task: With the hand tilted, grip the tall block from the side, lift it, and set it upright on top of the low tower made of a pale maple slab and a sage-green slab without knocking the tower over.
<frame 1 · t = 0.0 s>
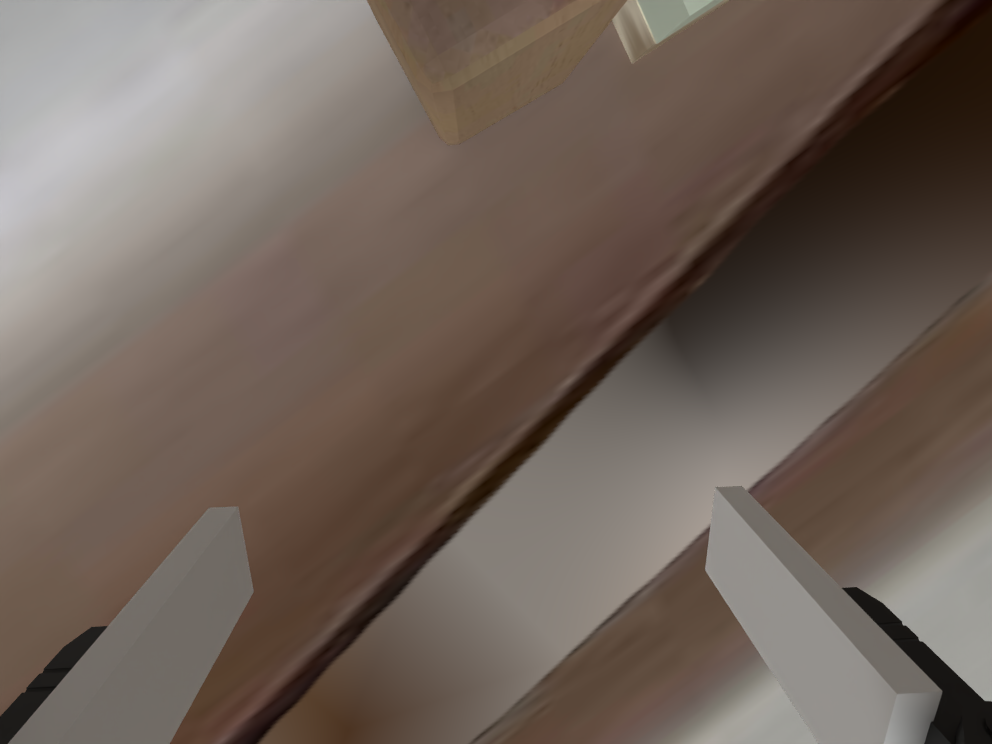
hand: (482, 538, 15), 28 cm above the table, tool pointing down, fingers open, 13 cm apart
block: (474, 45, 36), on the table
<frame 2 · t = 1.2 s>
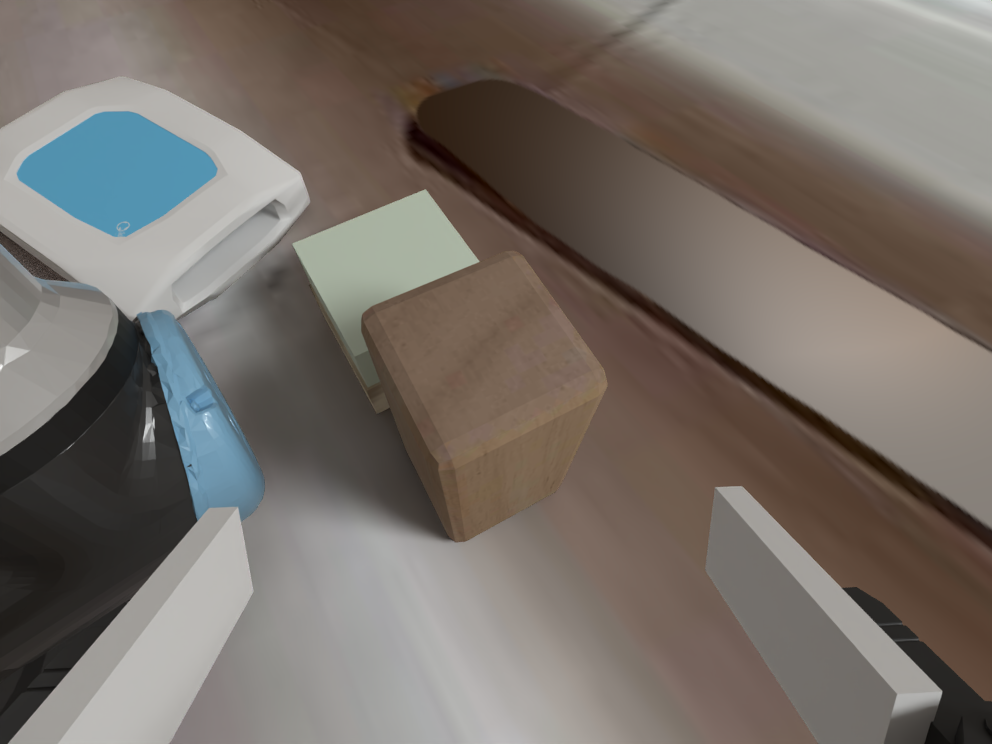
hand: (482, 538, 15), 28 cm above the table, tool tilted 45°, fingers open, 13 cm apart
tower upper slab: (401, 302, 46), point 5 cm above the table, touching tower lower slab
tower lower slab: (408, 335, 50), on the table, touching tower upper slab
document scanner: (153, 215, 57), on the table
block: (481, 466, 45), on the table
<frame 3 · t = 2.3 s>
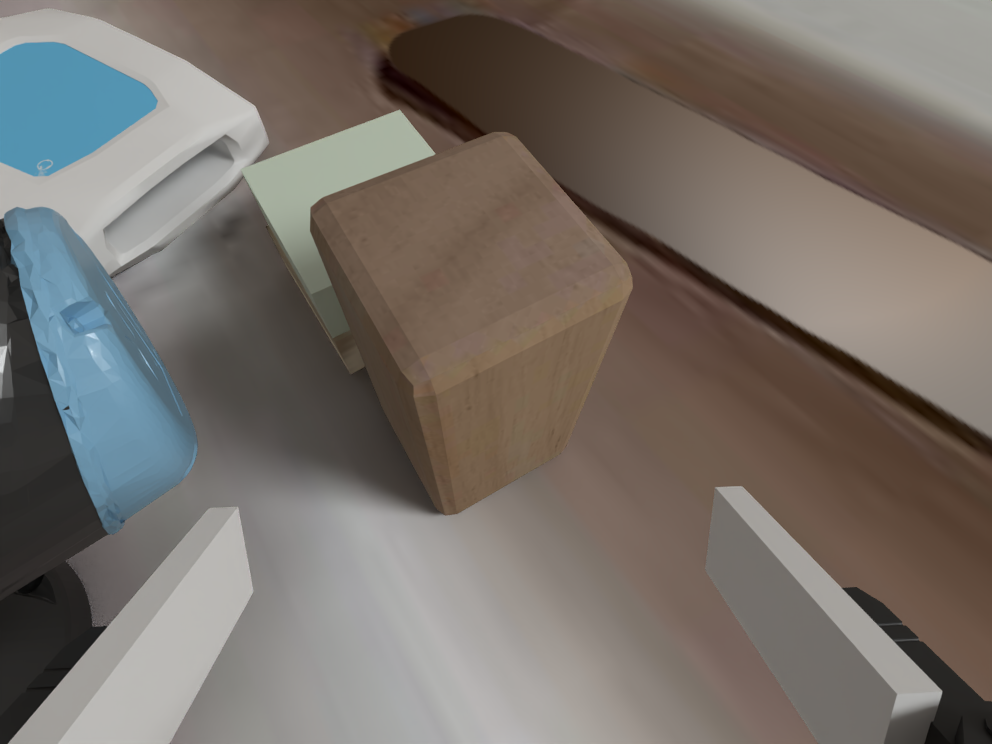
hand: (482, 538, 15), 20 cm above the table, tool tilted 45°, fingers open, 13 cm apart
tower upper slab: (374, 243, 40), point 5 cm above the table, touching tower lower slab
tower lower slab: (385, 286, 44), on the table, touching tower upper slab
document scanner: (89, 163, 50), on the table
block: (473, 428, 38), on the table
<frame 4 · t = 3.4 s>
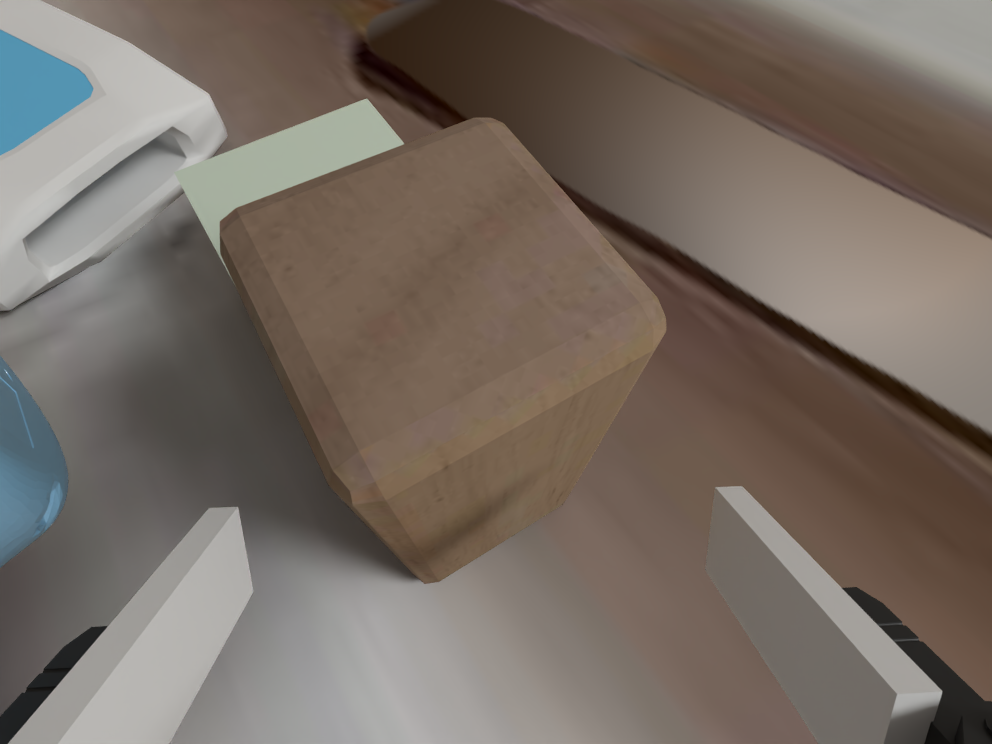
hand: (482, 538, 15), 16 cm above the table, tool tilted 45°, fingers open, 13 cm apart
tower upper slab: (340, 256, 34), point 5 cm above the table, touching tower lower slab
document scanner: (23, 161, 44), on the table
block: (459, 472, 32), on the table
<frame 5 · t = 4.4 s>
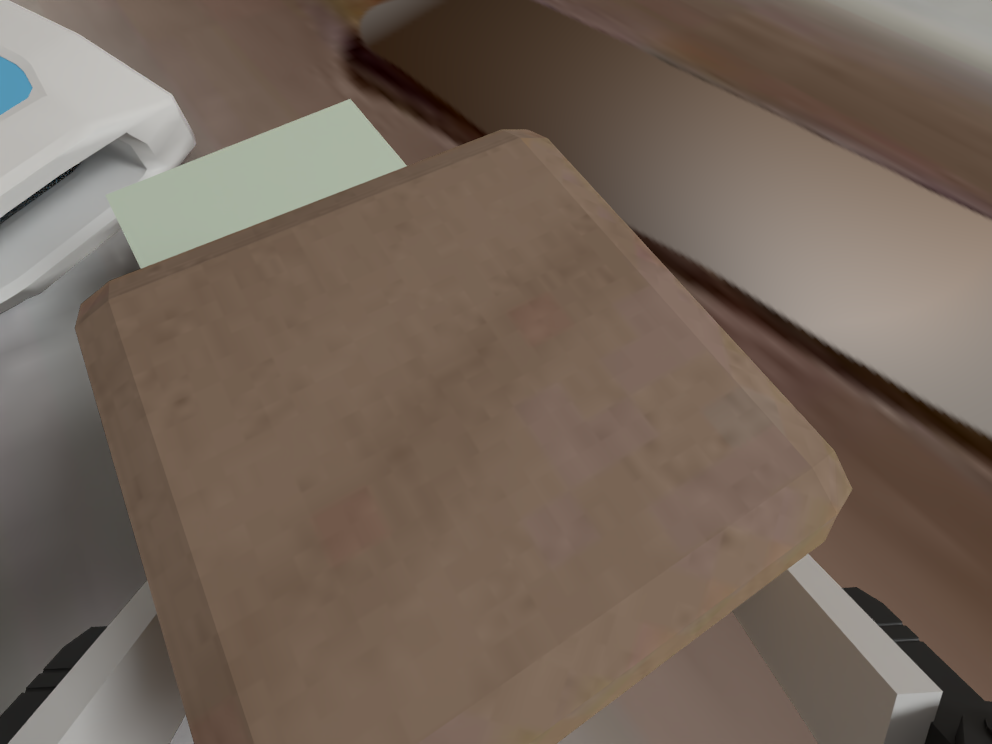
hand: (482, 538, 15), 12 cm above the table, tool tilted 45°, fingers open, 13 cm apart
tower upper slab: (320, 293, 27), point 5 cm above the table, touching tower lower slab
block: (467, 563, 26), on the table, touching gripper
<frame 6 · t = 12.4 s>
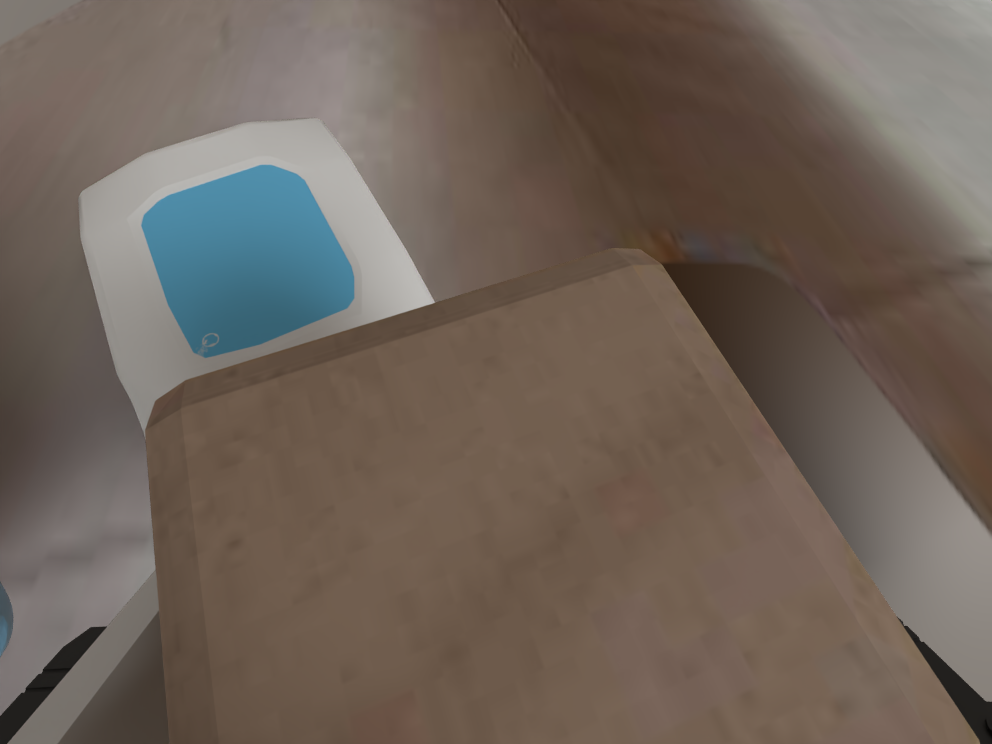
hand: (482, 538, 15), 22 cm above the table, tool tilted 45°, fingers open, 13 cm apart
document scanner: (275, 299, 46), on the table
block: (500, 626, 25), point 10 cm above the table, touching gripper, tower upper slab
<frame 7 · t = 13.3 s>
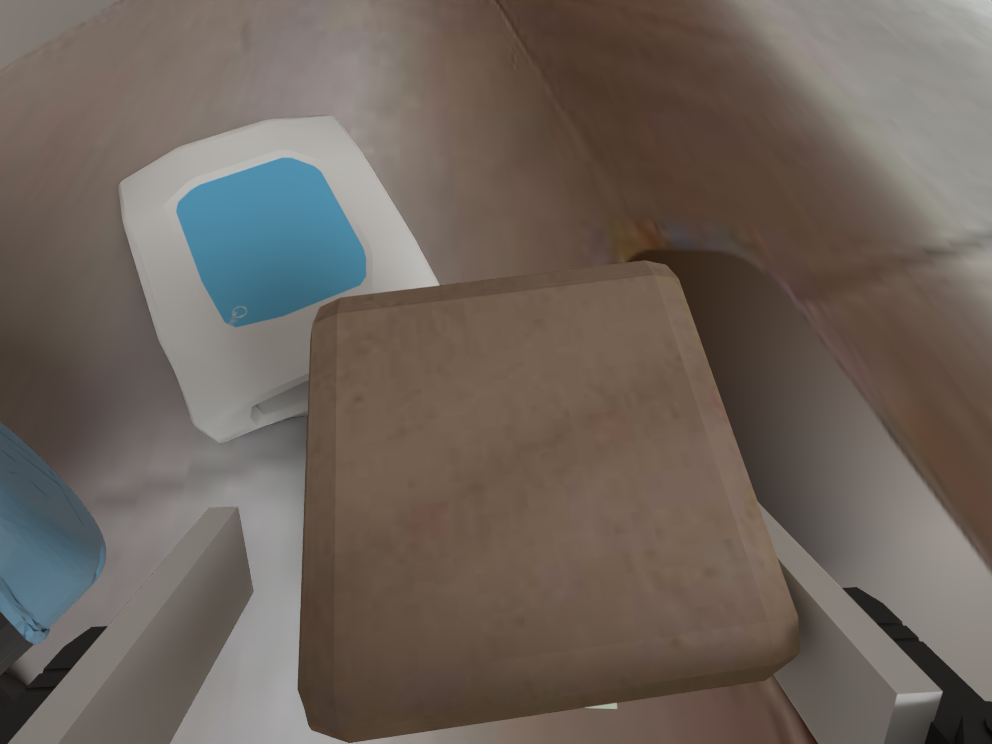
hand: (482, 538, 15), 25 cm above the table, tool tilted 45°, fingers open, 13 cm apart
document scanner: (293, 279, 50), on the table
block: (515, 566, 29), point 10 cm above the table
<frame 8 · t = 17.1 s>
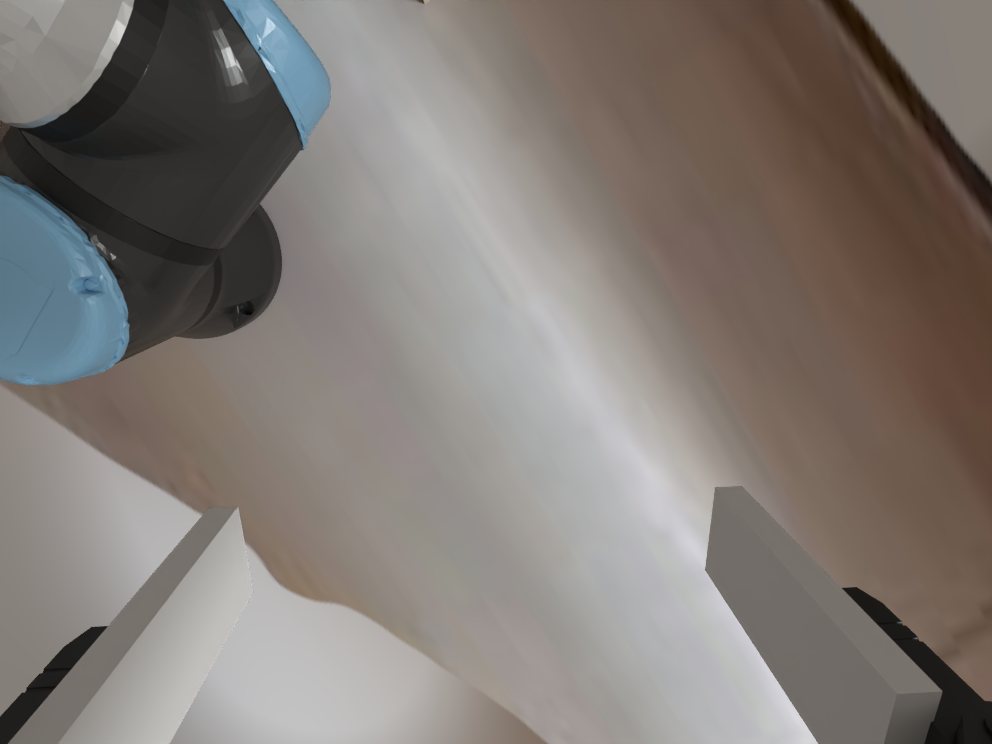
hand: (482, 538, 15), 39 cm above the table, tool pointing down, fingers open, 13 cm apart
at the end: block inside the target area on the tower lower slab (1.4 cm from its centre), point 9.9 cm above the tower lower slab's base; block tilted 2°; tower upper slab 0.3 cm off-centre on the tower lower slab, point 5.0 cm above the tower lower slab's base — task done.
